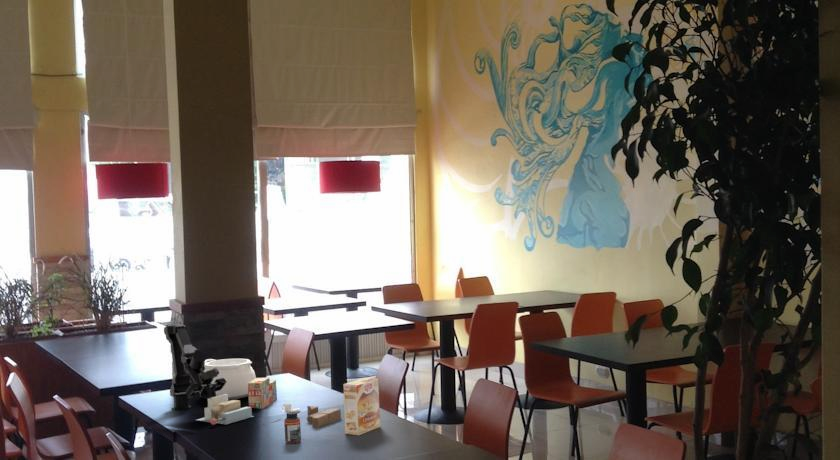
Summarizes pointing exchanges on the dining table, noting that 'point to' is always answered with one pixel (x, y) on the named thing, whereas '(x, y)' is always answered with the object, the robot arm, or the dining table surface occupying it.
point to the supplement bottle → (292, 428)
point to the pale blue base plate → (232, 416)
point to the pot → (232, 376)
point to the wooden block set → (322, 416)
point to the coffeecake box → (361, 406)
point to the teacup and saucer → (288, 408)
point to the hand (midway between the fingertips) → (216, 402)
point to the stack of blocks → (261, 392)
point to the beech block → (228, 407)
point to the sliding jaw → (214, 406)
